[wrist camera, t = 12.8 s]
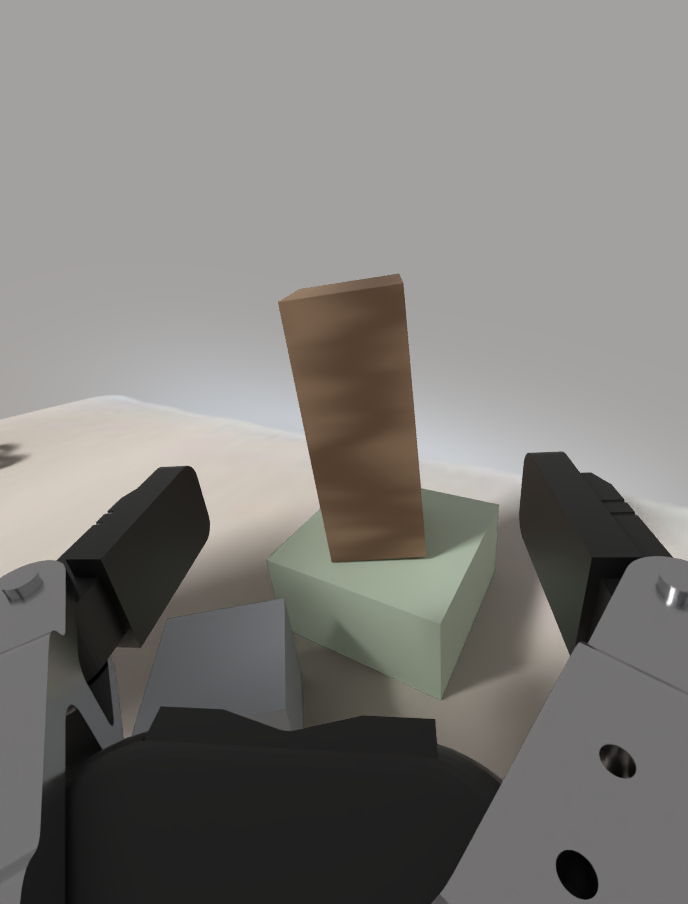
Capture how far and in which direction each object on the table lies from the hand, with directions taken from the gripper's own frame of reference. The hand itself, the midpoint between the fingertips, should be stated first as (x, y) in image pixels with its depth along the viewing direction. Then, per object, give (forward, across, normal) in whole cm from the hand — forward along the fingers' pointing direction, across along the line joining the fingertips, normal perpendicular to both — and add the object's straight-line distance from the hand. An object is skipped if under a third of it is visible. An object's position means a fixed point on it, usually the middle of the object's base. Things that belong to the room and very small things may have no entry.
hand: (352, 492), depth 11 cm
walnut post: (+9, 0, +8) cm, 12 cm away
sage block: (+9, 0, +13) cm, 16 cm away
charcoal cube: (+2, +6, +13) cm, 14 cm away
